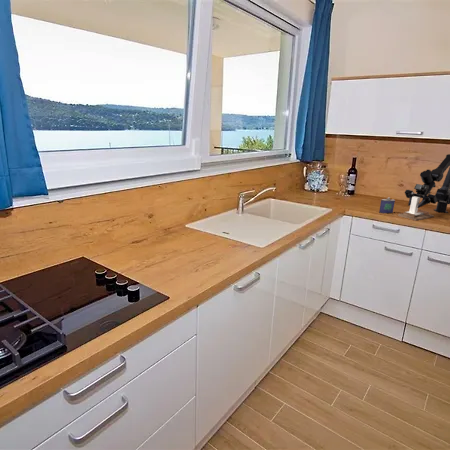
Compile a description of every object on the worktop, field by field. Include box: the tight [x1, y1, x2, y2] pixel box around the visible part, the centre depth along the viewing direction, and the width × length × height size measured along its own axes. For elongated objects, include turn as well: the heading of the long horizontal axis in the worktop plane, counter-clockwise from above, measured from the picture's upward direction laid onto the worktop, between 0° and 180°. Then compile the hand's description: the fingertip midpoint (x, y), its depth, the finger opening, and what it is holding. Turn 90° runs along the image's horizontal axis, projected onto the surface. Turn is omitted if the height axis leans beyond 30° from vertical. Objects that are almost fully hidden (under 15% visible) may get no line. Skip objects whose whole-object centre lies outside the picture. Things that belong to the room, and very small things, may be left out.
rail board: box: [397, 208, 435, 221], centre depth 214 cm, size 20×12×3 cm, turn 121°
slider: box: [406, 196, 421, 216], centre depth 210 cm, size 6×6×11 cm
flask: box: [378, 196, 396, 215], centre depth 219 cm, size 9×3×11 cm, turn 95°
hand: (413, 206), depth 210 cm, fingers open, 6 cm apart
